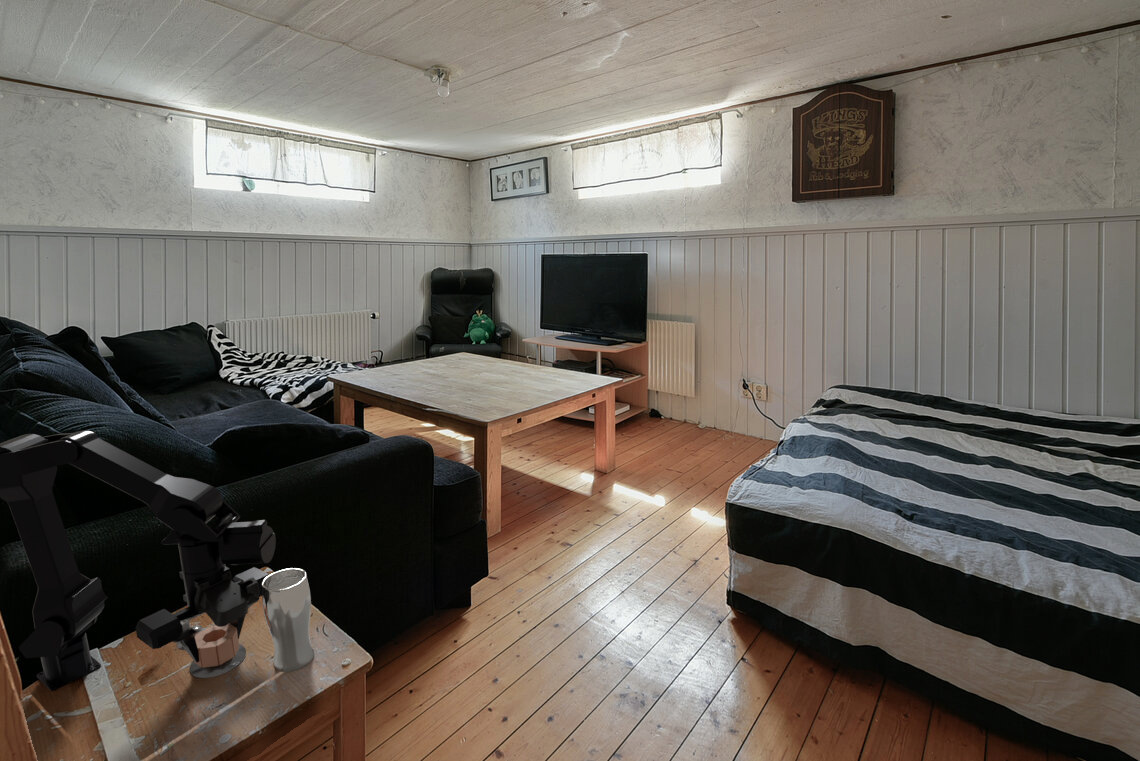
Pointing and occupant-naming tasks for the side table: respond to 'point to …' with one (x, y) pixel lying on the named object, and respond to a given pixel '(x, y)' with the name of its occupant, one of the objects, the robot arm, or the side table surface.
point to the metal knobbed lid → (198, 629)
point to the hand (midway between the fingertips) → (216, 650)
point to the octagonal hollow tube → (216, 645)
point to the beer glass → (288, 617)
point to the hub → (219, 669)
